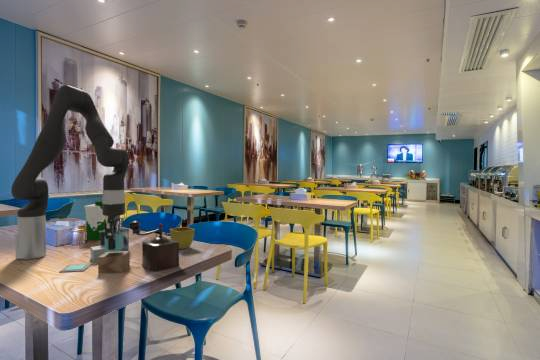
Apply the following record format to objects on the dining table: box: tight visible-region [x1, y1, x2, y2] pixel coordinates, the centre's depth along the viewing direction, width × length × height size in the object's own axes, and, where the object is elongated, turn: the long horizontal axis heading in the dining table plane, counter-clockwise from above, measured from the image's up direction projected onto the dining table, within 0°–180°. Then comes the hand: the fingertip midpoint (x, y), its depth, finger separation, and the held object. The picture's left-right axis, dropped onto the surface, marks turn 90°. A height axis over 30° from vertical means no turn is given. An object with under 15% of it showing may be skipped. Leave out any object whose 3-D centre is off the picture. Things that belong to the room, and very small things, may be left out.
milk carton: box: [83, 200, 107, 241], centre depth 160 cm, size 9×9×20 cm
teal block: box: [105, 232, 123, 252], centre depth 113 cm, size 5×5×6 cm
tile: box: [58, 263, 93, 273], centre depth 113 cm, size 8×8×1 cm
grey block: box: [90, 245, 106, 263], centre depth 124 cm, size 5×5×6 cm
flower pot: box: [169, 226, 196, 250], centre depth 144 cm, size 9×9×9 cm
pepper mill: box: [128, 220, 180, 273], centre depth 115 cm, size 16×11×18 cm
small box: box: [100, 227, 130, 251], centre depth 133 cm, size 11×6×10 cm, turn 168°
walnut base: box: [97, 250, 131, 274], centre depth 112 cm, size 8×8×6 cm
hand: (114, 247), depth 113 cm, fingers closed on teal block, 5 cm apart
